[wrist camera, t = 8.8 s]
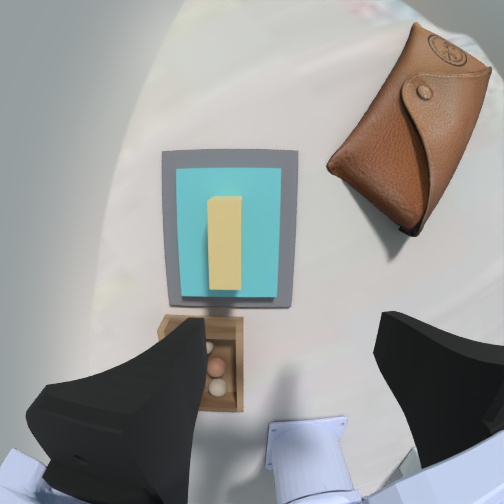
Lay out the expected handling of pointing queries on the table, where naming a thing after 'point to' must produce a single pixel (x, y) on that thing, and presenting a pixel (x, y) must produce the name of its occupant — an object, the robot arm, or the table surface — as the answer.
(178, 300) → the mat
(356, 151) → the sunglasses case
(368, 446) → the table surface
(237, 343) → the box
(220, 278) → the lid
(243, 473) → the table surface
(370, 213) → the table surface
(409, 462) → the skincare box
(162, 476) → the robot arm
